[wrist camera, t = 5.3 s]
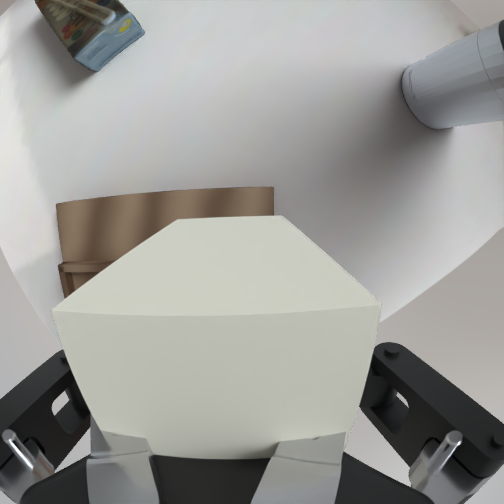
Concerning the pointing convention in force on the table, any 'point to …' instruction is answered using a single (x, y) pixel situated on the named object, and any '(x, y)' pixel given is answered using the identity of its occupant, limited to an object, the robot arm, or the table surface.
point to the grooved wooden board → (140, 223)
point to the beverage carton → (91, 28)
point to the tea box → (221, 339)
